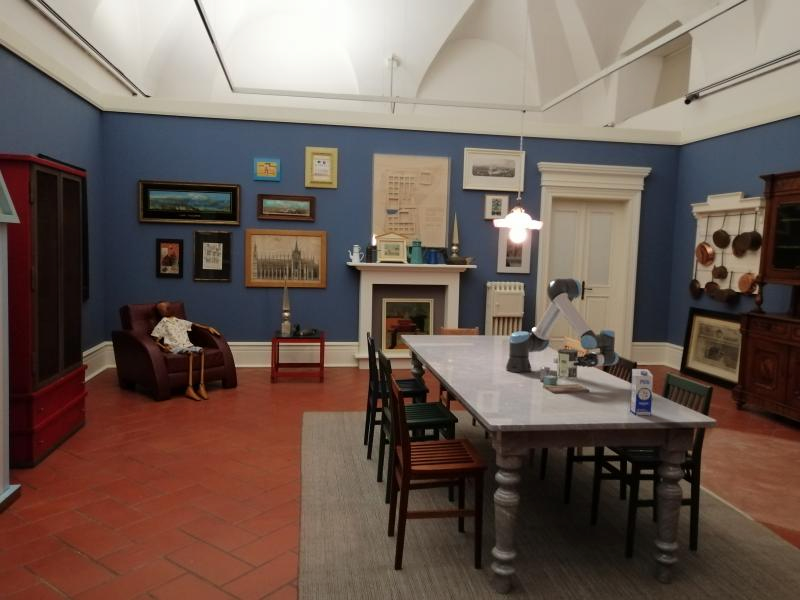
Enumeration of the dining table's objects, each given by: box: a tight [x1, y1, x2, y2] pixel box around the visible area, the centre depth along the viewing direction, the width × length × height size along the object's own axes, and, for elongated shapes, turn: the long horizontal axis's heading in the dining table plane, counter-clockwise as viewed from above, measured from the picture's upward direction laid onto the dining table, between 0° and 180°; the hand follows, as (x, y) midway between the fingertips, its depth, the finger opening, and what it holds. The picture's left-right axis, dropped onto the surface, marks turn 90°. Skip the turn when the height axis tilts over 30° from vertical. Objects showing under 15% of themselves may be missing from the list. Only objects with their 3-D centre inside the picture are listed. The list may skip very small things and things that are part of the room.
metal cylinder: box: [539, 366, 551, 384], centre depth 322 cm, size 5×5×8 cm
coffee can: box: [556, 348, 579, 380], centre depth 302 cm, size 10×10×14 cm
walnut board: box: [542, 383, 590, 394], centre depth 303 cm, size 13×20×1 cm, turn 101°
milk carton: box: [629, 368, 654, 417], centre depth 260 cm, size 7×7×20 cm
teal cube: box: [542, 374, 558, 386], centre depth 313 cm, size 5×5×5 cm
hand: (561, 362), depth 300 cm, fingers closed on coffee can, 10 cm apart
